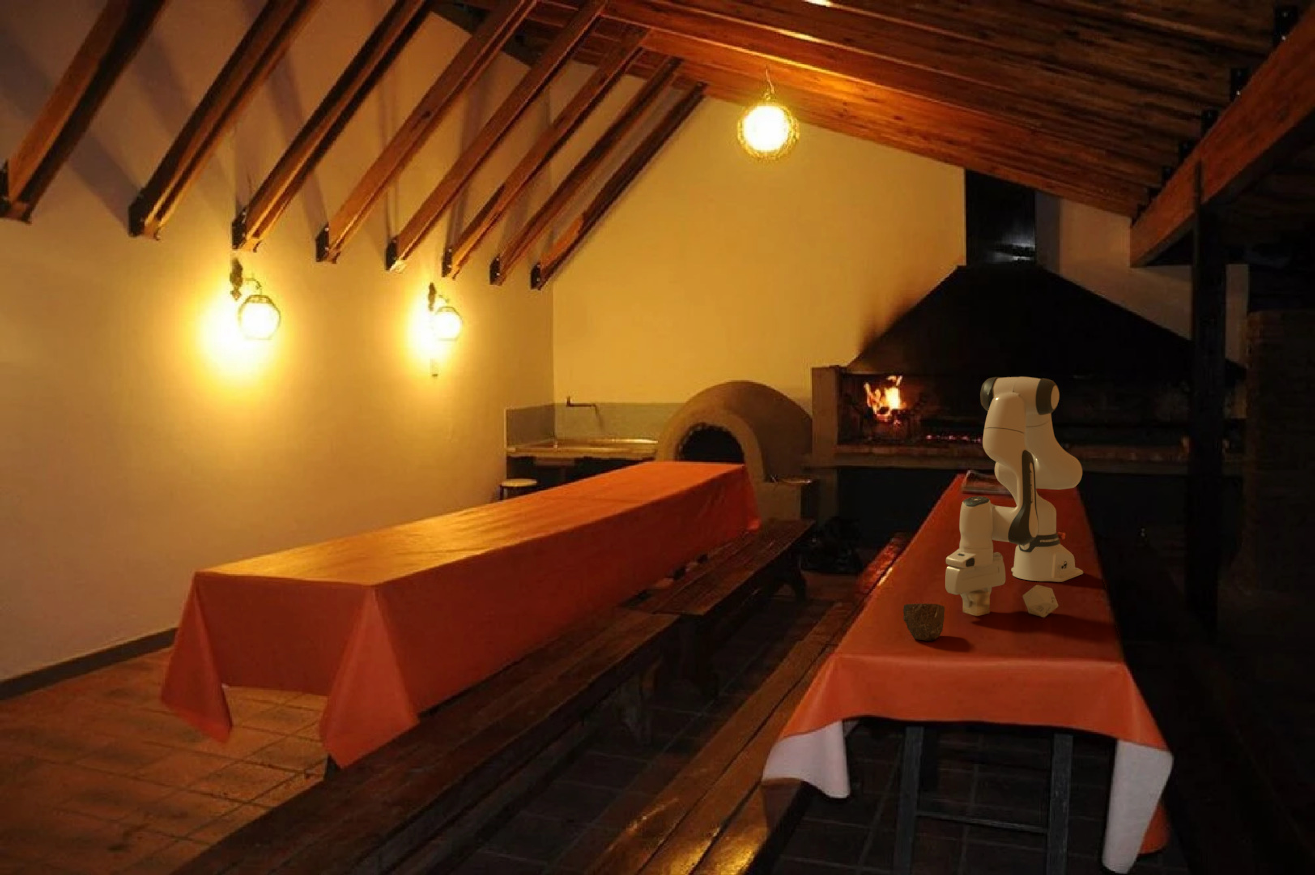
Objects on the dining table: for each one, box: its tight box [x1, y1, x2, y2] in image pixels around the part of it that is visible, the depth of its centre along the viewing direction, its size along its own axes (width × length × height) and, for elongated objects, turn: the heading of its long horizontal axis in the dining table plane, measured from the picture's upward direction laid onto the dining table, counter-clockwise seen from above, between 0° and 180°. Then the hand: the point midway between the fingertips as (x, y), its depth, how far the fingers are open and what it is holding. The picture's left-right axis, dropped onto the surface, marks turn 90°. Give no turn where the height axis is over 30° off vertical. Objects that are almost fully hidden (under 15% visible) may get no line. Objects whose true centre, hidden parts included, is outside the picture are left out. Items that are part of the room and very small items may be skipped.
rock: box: [902, 603, 946, 642], centre depth 255 cm, size 12×10×10 cm
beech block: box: [962, 589, 991, 617], centre depth 277 cm, size 5×5×6 cm
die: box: [1022, 584, 1059, 618], centre depth 273 cm, size 8×9×10 cm
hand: (976, 605), depth 277 cm, fingers closed on beech block, 5 cm apart
